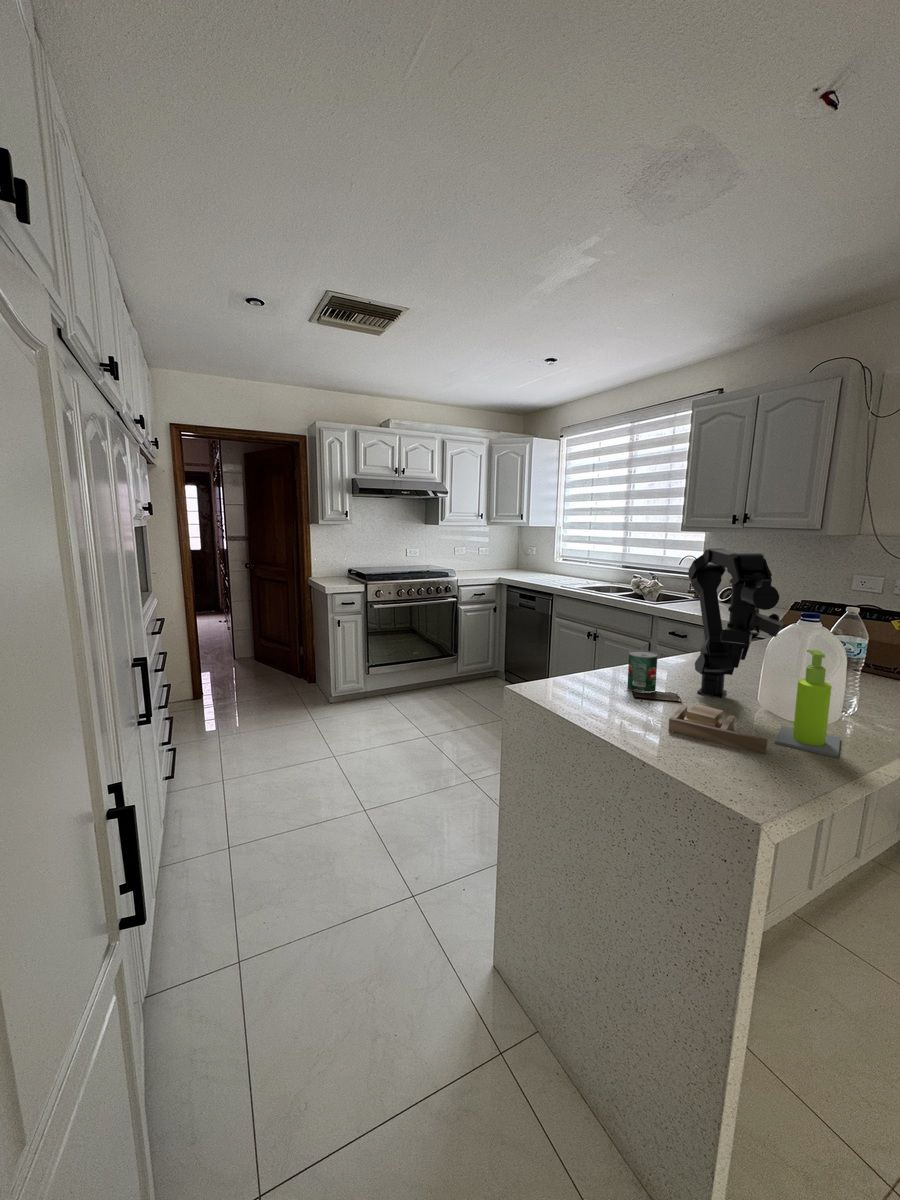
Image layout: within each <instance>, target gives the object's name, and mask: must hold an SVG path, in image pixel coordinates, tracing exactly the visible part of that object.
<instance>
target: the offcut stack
mask: <svg viewBox="0 0 900 1200" xmlns="http://www.w3.org/2000/svg"><path fill="white" fill-rule="evenodd" d="M723 717H724V710H722V709H719V708H714V707H710V706H706V705H701V704H695V705H694V706H692V707H691V708H689V709H687V714H686V717H685V718H684V720H685V721H690V722H694V723H699V724H703V725H707V726H712V727H716V728H721V726H722V725H723V721H722V720H721V719H722V718H723Z"/></svg>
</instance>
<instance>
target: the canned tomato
mask: <svg viewBox="0 0 900 1200" xmlns="http://www.w3.org/2000/svg"><path fill="white" fill-rule="evenodd" d="M627 666H628V669H627V687H626V689H627V690H628V691H630V692H632V690H634V689H638V690H644V691H655V690H656V689H657V687H656V686H657V670H658V668H657V667H658V653H657V652H654V651H649V650H641V649H639V650H630V651H628V665H627ZM656 691H657V690H656ZM656 691H655V692H656Z"/></svg>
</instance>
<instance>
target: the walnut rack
mask: <svg viewBox="0 0 900 1200" xmlns="http://www.w3.org/2000/svg"><path fill="white" fill-rule="evenodd" d="M687 711H688V706H685V705H681V706H680V707H679V708H678V709H677V710H676V711H675V712H674V713H673V714H672V716H670V717H669V718H668V731H669V732H671V731H673V732H672V733H676V732H677V734H680V733H681V735H684V734H685V736H688V735H689V737H693V738H697V739H700V740H705V741H708V742H713V743H717V744H722V745H726V746H730V747H733V748H738V749H742V750H745V749H746V750H745V751H749V750H750V752H753V751H754V753H758V754H762V755H766V753H767V747H768V738H764V737H760V736H755V735H750V734H746V733H743V732H739V731H738V732H737V731H734V729H735V720H736V719H735V718H736V716H734V715H728V716H727V718H726V719H725V720H724V722H722V726H721V728H716V727H712V726H707V725H703V724H699V723H694V722H690V721H685V720H684V718H685V717H686V714H687Z"/></svg>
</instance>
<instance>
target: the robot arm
mask: <svg viewBox="0 0 900 1200" xmlns="http://www.w3.org/2000/svg"><path fill="white" fill-rule="evenodd" d="M764 556H765V555H763V553H760V552H756V553H755V552H753V553H752V552H751V553H749V552H748V553H747V552H745V553H744V552H741V553H740V552H738V553H737V552H734V551H730V550H726V549H724V548H707V549H705V550H704V552H703V553H702V554H701V555H700V556H698V557H697V558H695V559H694V560H693V561H692V563H691V565H690V566H689V568H688V574H687V575H688V578H689V579H690V584H691V587H692V588H693V589H694V591H696V592H697V593H698V596H699V597H698V598H699V605H700V610H701V611H700V613H701V620H702V626H703V634H704V635H703V636H704V642H703V644H702V646H701V648H700V650H699V651H700V652H699V653H700V654H699V656H698V657H697V658H696V661H695V662H694V669H695V671H696V672H698V673H699V674H700V675H701V682H700V683H701V686H700V688H699V689H698V690H697V691H696V693H697V694H698V695H704V696H710V697H715V698H720V699H723V697H725V695H726V694H727V690H725V689H724V687H725V675H727V676H728V675H729V676H733V674H734V670H735V669H738V668H739V665H740V662H741V661H745V660H746V658H747V655H748V651H749V649H750V647H751V643H752V641H753V640H754V639H755V638H757V637H759V635H760V633H761V632H763V633H765V634H768V636H770V637H775V638H776V637H777V636H778V634H779V632H780V631H781V629H782V627H783V626H784V622H783V621H782V620H781V621H780V614H777V613H771V614H770V615H767V614H762V613H760V610H764V611H767V610H771V609H774V608H775V607H776V605H777V604H778V603H779V601H780V594H779V592H778V590H777V588H775V587H774V586H772V580H773V579H772V576H773V574H772V572H771V570H770V567H769V565H768V562H767V559H766V558H765V557H764ZM725 572H727V573H728V574H730V577H732V578H731V579H730V580H729V583H730V584H731V594H730V606H728V611H727V612H729V620H728V621H729V622H727V626H726V628H725V629H724V628H723V622H722V617H721V609H720V602H719V598H718V596H719V595H718V588H719V587H720V585H721V583H722V578H723V575H724V574H725ZM754 631H755V632H754Z"/></svg>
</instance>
